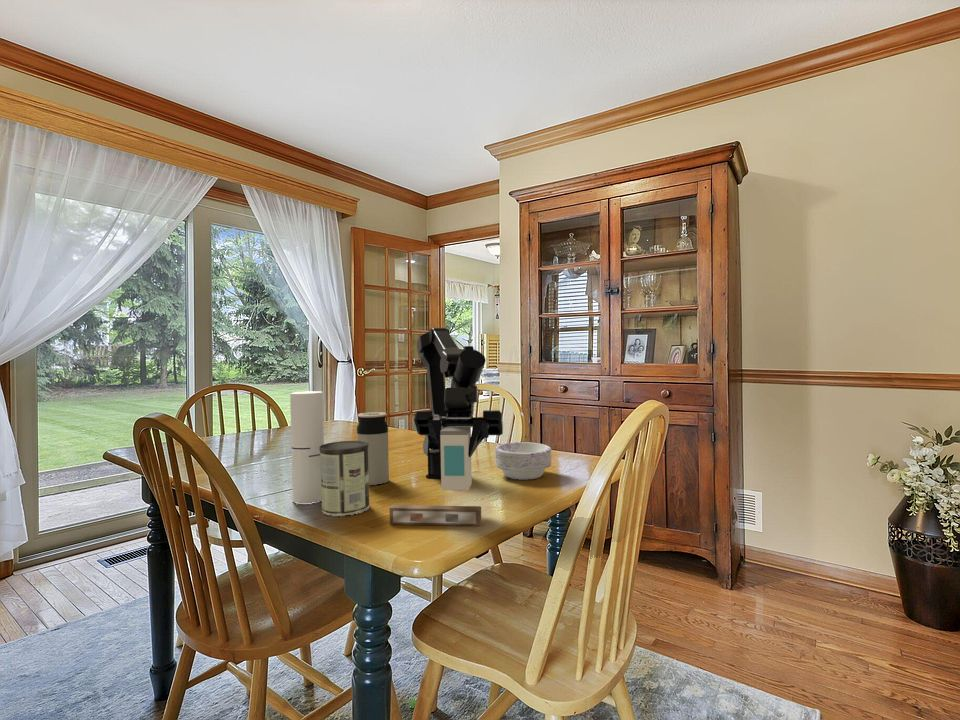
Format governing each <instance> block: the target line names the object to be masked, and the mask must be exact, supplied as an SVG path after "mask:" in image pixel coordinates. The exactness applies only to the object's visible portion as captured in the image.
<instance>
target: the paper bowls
mask: <svg viewBox="0 0 960 720" xmlns="http://www.w3.org/2000/svg"><path fill="white" fill-rule="evenodd" d="M494 456H495V457H494V464H495V467H497V468H498V469H501V471H502V473H503V475H504V476H505V477H506V478H508V479H513V480H517V479H518V480H519V481H528V480H529V479H530V480H535V479H538V478H541V477H542V476H543V474H544V472H545V470H546V469H549V468H551V466H552V448H551V446H549V445H547V444H544V443H538V442H531V441H530V442H529V441H528V442H526V441H522V442H521V441H520V442H519V441H518V442H517V441H516V442H515V441H514V442H507V443H501V444H498V445H496V446H495V449H494ZM518 480H517V481H518ZM530 480H529V481H530Z"/></svg>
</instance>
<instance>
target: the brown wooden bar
mask: <svg viewBox="0 0 960 720" xmlns="http://www.w3.org/2000/svg"><path fill="white" fill-rule="evenodd" d="M389 525H406V526H407V525H410V526H412V525H413V526H417V525H418V526H419V525H420V526H424V525H425V526H456V525H457V526H461V527H463V526H466V527H469V526H471V527H481V526H482V506H478V505H477V506H476V505H469V506H468V505H419V504H418V505H417V504H416V505H415V504H411V505H410V504H391V506H390V507H389Z"/></svg>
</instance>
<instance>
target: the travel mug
mask: <svg viewBox="0 0 960 720" xmlns="http://www.w3.org/2000/svg"><path fill="white" fill-rule="evenodd" d="M386 416H387V412H382V411H380V412H379V411H378V412H377V411H376V412H375V411H374V412H373V411H371V412H369V411H368V412H361V413H358V414H357V417H358V421H359V422H358V424H357V426H356V441H363V442H367V443H368V444H369V446H368V473H369V485H374V486H378V485H377V484H381V485H384V484H386V483H387V482H389V481H390V470H389V469H390V467H389V463H390V462H389V425H388V424H387V421H386ZM383 483H384V484H383Z"/></svg>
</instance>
